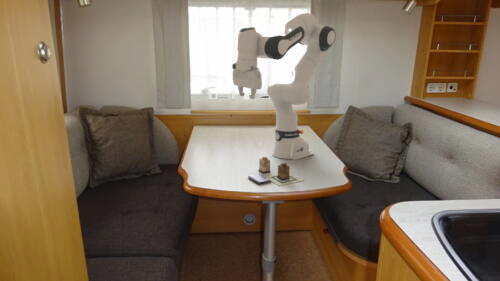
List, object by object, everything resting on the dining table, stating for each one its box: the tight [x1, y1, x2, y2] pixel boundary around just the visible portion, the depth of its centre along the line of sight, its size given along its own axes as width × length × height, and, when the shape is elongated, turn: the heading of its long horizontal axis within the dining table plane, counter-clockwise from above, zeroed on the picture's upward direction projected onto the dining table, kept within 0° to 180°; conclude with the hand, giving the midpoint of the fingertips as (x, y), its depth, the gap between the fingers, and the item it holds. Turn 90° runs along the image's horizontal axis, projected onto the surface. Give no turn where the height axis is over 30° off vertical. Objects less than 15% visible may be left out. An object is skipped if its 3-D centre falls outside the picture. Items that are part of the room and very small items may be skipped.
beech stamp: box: [258, 156, 271, 175], centre depth 169 cm, size 4×4×7 cm
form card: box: [264, 172, 305, 187], centre depth 162 cm, size 13×12×1 cm
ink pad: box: [247, 173, 272, 186], centre depth 159 cm, size 6×9×1 cm, turn 30°
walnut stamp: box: [277, 162, 291, 181], centre depth 161 cm, size 4×4×7 cm
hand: (246, 97), depth 164 cm, fingers open, 8 cm apart
